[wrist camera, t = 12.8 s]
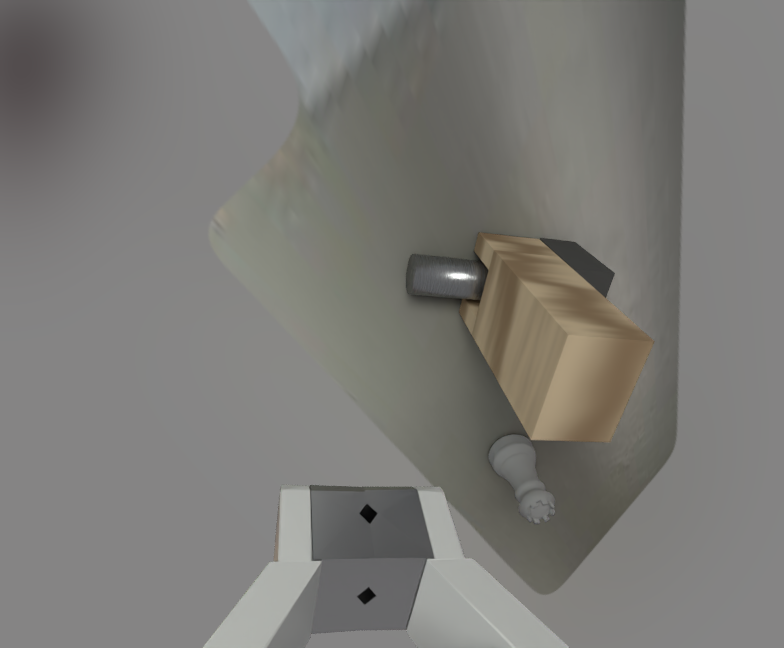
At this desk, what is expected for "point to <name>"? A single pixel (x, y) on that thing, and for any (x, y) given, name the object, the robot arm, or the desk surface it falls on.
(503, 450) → the rook chess piece
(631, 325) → the tall wooden block
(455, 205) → the desk surface
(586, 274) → the black block
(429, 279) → the grey metal rod
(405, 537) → the robot arm
